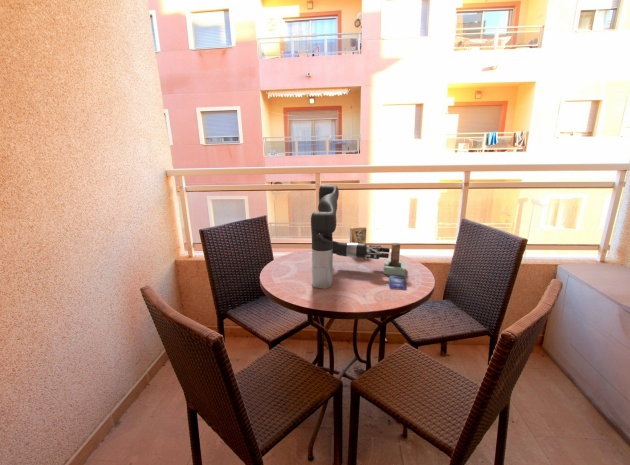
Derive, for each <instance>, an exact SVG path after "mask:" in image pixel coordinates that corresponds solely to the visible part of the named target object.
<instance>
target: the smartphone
mask: <svg viewBox="0 0 630 465" xmlns="http://www.w3.org/2000/svg"><path fill="white" fill-rule="evenodd" d="M388 275H389V274H388ZM388 278H389V280H388V282H389V283H388V288H389V289H390V290H398V291H399V290H400V291H406V290H407V281H406V275H405V276H401V275H392V274H391V275H389V276H388Z"/></svg>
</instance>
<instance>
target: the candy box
mask: <svg viewBox="0 0 630 465" xmlns="http://www.w3.org/2000/svg"><path fill="white" fill-rule="evenodd" d="M366 242H367V227H365V226H352V227H351V226H350V227H349V243H363V244H366V245H367V243H366Z"/></svg>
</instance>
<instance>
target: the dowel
mask: <svg viewBox="0 0 630 465" xmlns="http://www.w3.org/2000/svg"><path fill="white" fill-rule="evenodd" d="M390 248H391V249H390V250H391V253H390V261H391V264H390V266H391V267H399V262H400V252H401V244H400V243H395V242H394V243H391V247H390Z"/></svg>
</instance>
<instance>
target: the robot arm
mask: <svg viewBox="0 0 630 465" xmlns="http://www.w3.org/2000/svg"><path fill="white" fill-rule="evenodd" d="M318 188H319V189H318V206H317V209H318V211H313V212H312V213H311V216H310V229H311V274H312V275H311V278H312V279H311V281H312V288H314V289H315V288H316V289H324V290H326V289H328V288H330V287H332V286H333V282H334V281H333V279H334V278H333V277H334V276H333V275H334V273H333V272H334V271H333V270H334V269H333V268H334V262H333V261H334V260H333V258H334V256H333V255H336V256H339V257H340V256H341V257H349V258H353V259H354V258H357V259H371V260H373V259H374V260H379V259H380V258H382V259H383V258H384V259H388V258H389V257H390V254H389V253H390V250H391V249H390V248H389V247H382V246H381V245H375V244H373V245H371V244H370V245H369V246H368V247H367V243H366V244H363V243H350V242H344V241H343V242H341V241H335V240H334V239H333V233H334V232H335V230H336V227H337V211H338V210H337V209H338V200H339V196H340V195H339V194H340V192H339V187H338V186H337V185H334V184H329V185H328V184H322V185H320V186H319V187H318Z"/></svg>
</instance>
